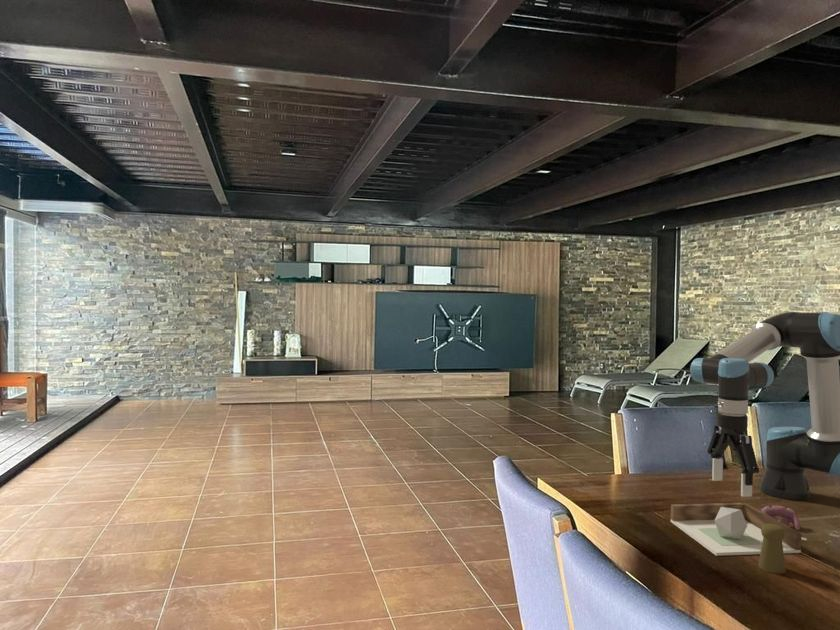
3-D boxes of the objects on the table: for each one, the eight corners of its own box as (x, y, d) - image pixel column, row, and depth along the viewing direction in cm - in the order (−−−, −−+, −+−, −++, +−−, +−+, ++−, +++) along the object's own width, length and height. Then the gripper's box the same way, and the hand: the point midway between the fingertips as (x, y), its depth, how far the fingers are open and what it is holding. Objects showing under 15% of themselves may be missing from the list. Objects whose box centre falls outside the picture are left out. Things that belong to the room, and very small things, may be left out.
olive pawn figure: (753, 563, 156) (754, 521, 156) (775, 562, 157) (776, 520, 157) (768, 574, 150) (769, 530, 150) (791, 573, 151) (792, 529, 151)
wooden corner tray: (744, 519, 187) (745, 502, 187) (800, 552, 163) (801, 533, 163) (670, 521, 185) (670, 504, 184) (716, 555, 161) (716, 536, 161)
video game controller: (797, 532, 181) (794, 508, 184) (801, 530, 177) (799, 506, 180) (760, 528, 184) (758, 504, 187) (763, 526, 180) (761, 502, 183)
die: (748, 536, 173) (729, 504, 177) (759, 532, 165) (739, 498, 170) (722, 547, 172) (703, 514, 177) (732, 543, 165) (712, 509, 169)
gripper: (695, 405, 182) (694, 474, 183) (748, 423, 158) (746, 504, 158) (719, 404, 183) (718, 474, 184) (775, 423, 158) (773, 502, 159)
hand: (731, 488), depth 171 cm, fingers open, 13 cm apart
